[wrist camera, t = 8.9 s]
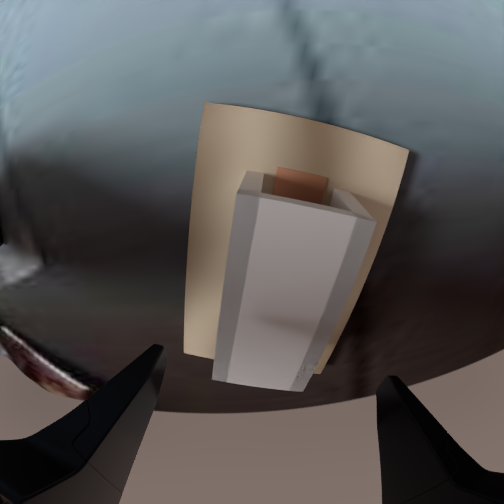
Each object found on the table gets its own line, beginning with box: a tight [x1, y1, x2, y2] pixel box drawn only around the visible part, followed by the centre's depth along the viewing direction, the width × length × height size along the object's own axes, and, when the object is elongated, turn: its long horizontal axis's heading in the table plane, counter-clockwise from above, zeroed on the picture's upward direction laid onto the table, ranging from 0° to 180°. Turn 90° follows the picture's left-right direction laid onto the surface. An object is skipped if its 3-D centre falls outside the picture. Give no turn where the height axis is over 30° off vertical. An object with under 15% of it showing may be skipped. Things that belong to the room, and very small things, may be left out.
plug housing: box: [212, 171, 376, 392], centre depth 13 cm, size 5×10×4 cm, turn 171°
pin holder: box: [184, 102, 409, 374], centre depth 14 cm, size 10×16×4 cm, turn 170°
